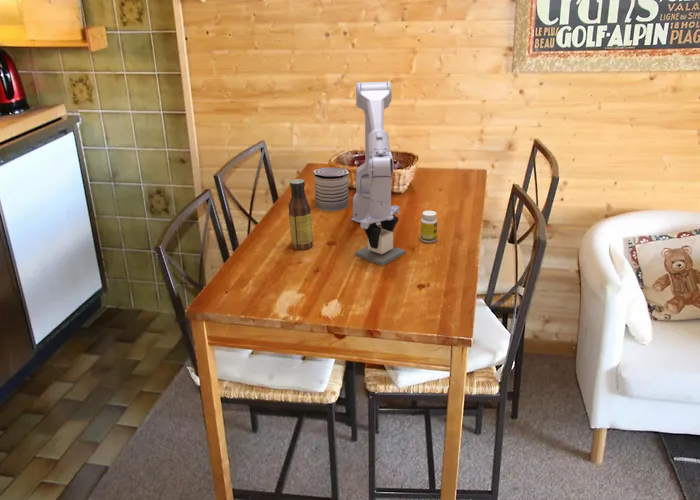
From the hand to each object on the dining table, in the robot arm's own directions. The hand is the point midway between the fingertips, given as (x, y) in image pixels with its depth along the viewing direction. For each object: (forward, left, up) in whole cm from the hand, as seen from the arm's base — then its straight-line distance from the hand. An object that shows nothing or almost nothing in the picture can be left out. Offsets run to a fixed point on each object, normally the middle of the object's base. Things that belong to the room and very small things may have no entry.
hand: (380, 244), depth 198 cm
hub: (0, 0, -1) cm, 1 cm away
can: (-36, +19, -3) cm, 41 cm away
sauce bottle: (-21, -10, -3) cm, 24 cm away
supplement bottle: (+4, +17, -3) cm, 18 cm away
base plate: (0, 0, -3) cm, 3 cm away
